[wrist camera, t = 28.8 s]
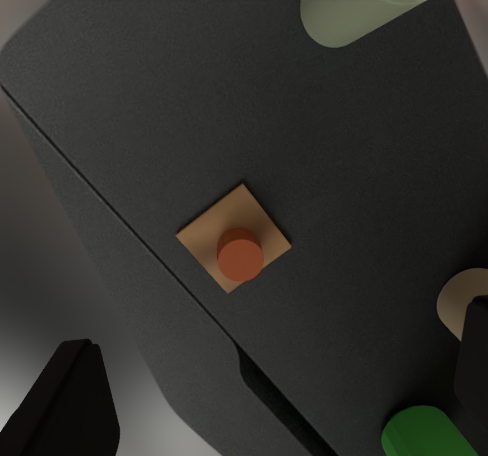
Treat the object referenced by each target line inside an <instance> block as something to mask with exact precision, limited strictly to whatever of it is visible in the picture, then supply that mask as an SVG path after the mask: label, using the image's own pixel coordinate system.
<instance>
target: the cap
mask: <svg viewBox="0 0 488 456" xmlns="http://www.w3.org/2000/svg"><path fill="white" fill-rule="evenodd" d="M261 249H262V248H261V245H260V243H259V240H257V238H256V236H255V235H254V233H252V232H250V231H249V230H247V229H242V228H236V229H232V230H229V231H227V232H226V233H225V234H223V235H222V237H221V238H220V240H219V242H218V247H217V260H218V266H219V269H220V271H221V273H222V274H223V275H224V276H225V277H226V278H228V279H230V280H232V281H236V282H244V281H248V280H250V279H252V278H254V277H255V276H257V275H258V274H259V272H260V271H261V269H262V267H263V264H264V256H263V252H262V250H261Z"/></svg>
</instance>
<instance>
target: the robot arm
mask: <svg viewBox="0 0 488 456" xmlns="http://www.w3.org/2000/svg"><path fill="white" fill-rule="evenodd" d="M454 391H455V394H456V396H457V398H458V399H459V400H460V402H461V403H462V404H463V405H464V406H465V407H466V409H467V410H468V411H469V412H470V413H471V414H472V415H473V417H474V418H475V419H476V420H477V421H478V422H479V424H480V425H481V426H482V427H483V428H484V429H485V430H486V432H487V433H488V295H479V296H476V297H474V298H473V299H472V301H471V303H469V304H468V305H467V308H466V314H465V320H464V326H463V332H462V337H461V343H460V349H459V355H458V361H457V367H456V372H455V378H454ZM119 439H120V427H119V423H118V419H117V415H116V411H115V407H114V403H113V399H112V394H111V390H110V386H109V382H108V378H107V375H106V370H105V366H104V362H103V358H102V354H101V350H100V347H99V345H98V344H92V342H91V340H89V339H81V340H71V341H64V342H62V343H61V344H60V346H59V347H58V348H57V350H56V351H55V353H54V354H53V356H52V357H51V359H50V360H49V362H48V363H47V365H46V366H45V368H44V369H43V371H42V373H41V374H40V376H39V377H38V379H37V380H36V382H35V383H34V385H33V386H32V388H31V389H30V391H29V392H28V394H27V395H26V397H25V398H24V400H23V401H22V403H21V404H20V406H19V407H18V409H17V410H16V411H15V412H14V413H13V414H12V416H11V417H10V418H9V420H8V421H7V423H6V424H5V426H4V427H3V429H2V430H1V432H0V456H116V452H117V449H118V445H119Z"/></svg>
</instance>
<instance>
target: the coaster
mask: <svg viewBox="0 0 488 456" xmlns="http://www.w3.org/2000/svg"><path fill="white" fill-rule="evenodd" d="M236 228H242V229H247V230H249V231H250V232H252V233H254V235H255V236H256V238H257V240H259V243H260V245H261V248H262V249H261V250H262V252H263V256H264V264H263V267H262V268H264V267H265V266H266V265H268V264H269V263H270V262H272V261H273V260H275V259H276V258H277V257H279V256H280V255H281V254H283V253H284V252H286V251H287V250H288V249H290V248H291V247H292V246H291V245H290V243H289V242H288V241H287V240H286V238H285V237H284V236H283V234H282V233H281V232H280V231H279V229H278V228H277V227H276V225H275V224H274V223H273V222H272V220H271V219H270V218H269V216H268V215H267V214H266V212H265V211H264V210H263V209H262V207H261V206H260V205H259V203H258V202H257V201H256V200H255V198H254V197H253V196H252V194H251V193H250V192H249V190H248V189H247V188H246V187H245V185H244V184H243V183H241V184H240V185H239V186H237V187H236V188H235V189H233V190H232V191H231V192H230V193H228V194H227V195H226V196H224V197H223V198H222V199H221V200H219V201H218V202H217V203H215V204H214V205H213V206H212V207H210V208H209V209H208V210H206V211H205V212H204V213H202V214H201V215H200V216H199V217H197V218H196V219H195V220H193V221H192V222H191V223H190V224H188V225H187V226H186V227H184V228H183V229H182V230H181V231H179V232H178V233H177V234H176V237H177V238H178V239H179V240H180V241H181V242H182V243H183V244H184V246H185V247H186V248H187V249H188V250H189V251H190V252H191V253H192V254H193V256H194V257H195V258H196V259H197V260H198V261H199V262H200V263H201V264H202V266H203V267H204V268H205V269H206V270H207V271H208V272H209V273H210V274H211V276H212V277H213V278H214V279H215V280H216V281H217V282H218V283H219V284H220V286H221V287H222V288H223V289H224V290H225V291H226V292H227V293H229V292H231V291H232V290H234V289H235V288H236V287H238V286H239V285H240V284H242V283H243V282H236V281H232V280H230V279H228V278H226V277H225V276H224V275H223V274H222V273H221V271H220V269H219V266H218V260H217V247H218V242H219V240H220V238H221V237H222V235H223V234H225V233H226V232H227V231H229V230H232V229H236Z"/></svg>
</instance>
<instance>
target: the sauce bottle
mask: <svg viewBox="0 0 488 456" xmlns="http://www.w3.org/2000/svg"><path fill="white" fill-rule="evenodd" d="M424 1H426V0H301V3H300V12H301V18H302V22H303V25H304V27H305V29H306V31H307V33H308V34H309V35H310V37H311V38H312V39H313V40H315V41H316V42H317V43H319V44H321V45H323V46H326V47H332V48H336V47H342V46H345V45H348V44H350V43H352V42H353V41H355V40H357V39H359V38H360V37H362V36H364V35H366V34H367V33H369V32H371V31H373V30H375V29H376V28H378V27H380V26H382V25H383V24H385V23H387V22H389V21H391V20H392V19H394V18H396V17H398V16H399V15H401V14H403V13H405V12H407V11H408V10H410V9H412V8H414V7H415V6H417V5H419V4H421V3H423V2H424Z"/></svg>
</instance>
